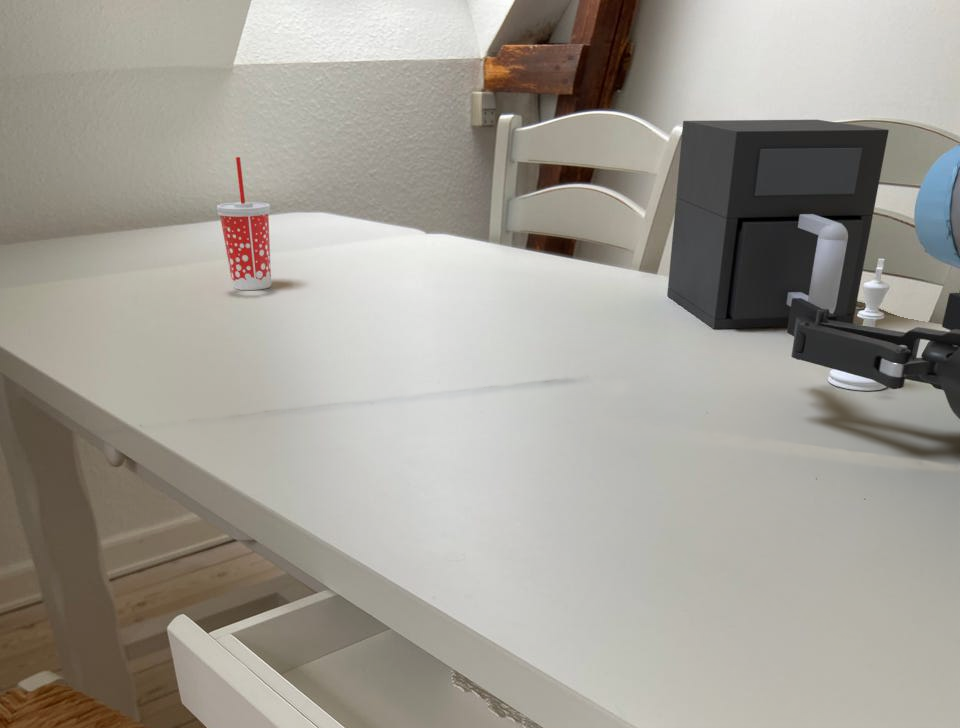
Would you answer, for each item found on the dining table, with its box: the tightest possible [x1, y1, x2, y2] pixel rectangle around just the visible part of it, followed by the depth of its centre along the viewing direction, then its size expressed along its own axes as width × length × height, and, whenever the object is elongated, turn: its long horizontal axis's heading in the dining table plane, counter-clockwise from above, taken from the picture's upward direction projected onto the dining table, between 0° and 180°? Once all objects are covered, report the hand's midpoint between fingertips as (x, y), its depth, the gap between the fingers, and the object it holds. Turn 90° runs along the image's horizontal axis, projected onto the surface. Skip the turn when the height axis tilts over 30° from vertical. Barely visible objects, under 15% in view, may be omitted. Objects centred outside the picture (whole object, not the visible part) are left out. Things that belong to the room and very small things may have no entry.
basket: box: [727, 214, 863, 319], centre depth 102 cm, size 23×12×10 cm, turn 8°
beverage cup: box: [216, 156, 272, 291], centre depth 117 cm, size 6×6×14 cm
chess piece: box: [827, 258, 890, 392], centre depth 83 cm, size 5×5×10 cm
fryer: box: [666, 119, 889, 330], centre depth 105 cm, size 16×15×18 cm
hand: (872, 312), depth 82 cm, fingers open, 13 cm apart
